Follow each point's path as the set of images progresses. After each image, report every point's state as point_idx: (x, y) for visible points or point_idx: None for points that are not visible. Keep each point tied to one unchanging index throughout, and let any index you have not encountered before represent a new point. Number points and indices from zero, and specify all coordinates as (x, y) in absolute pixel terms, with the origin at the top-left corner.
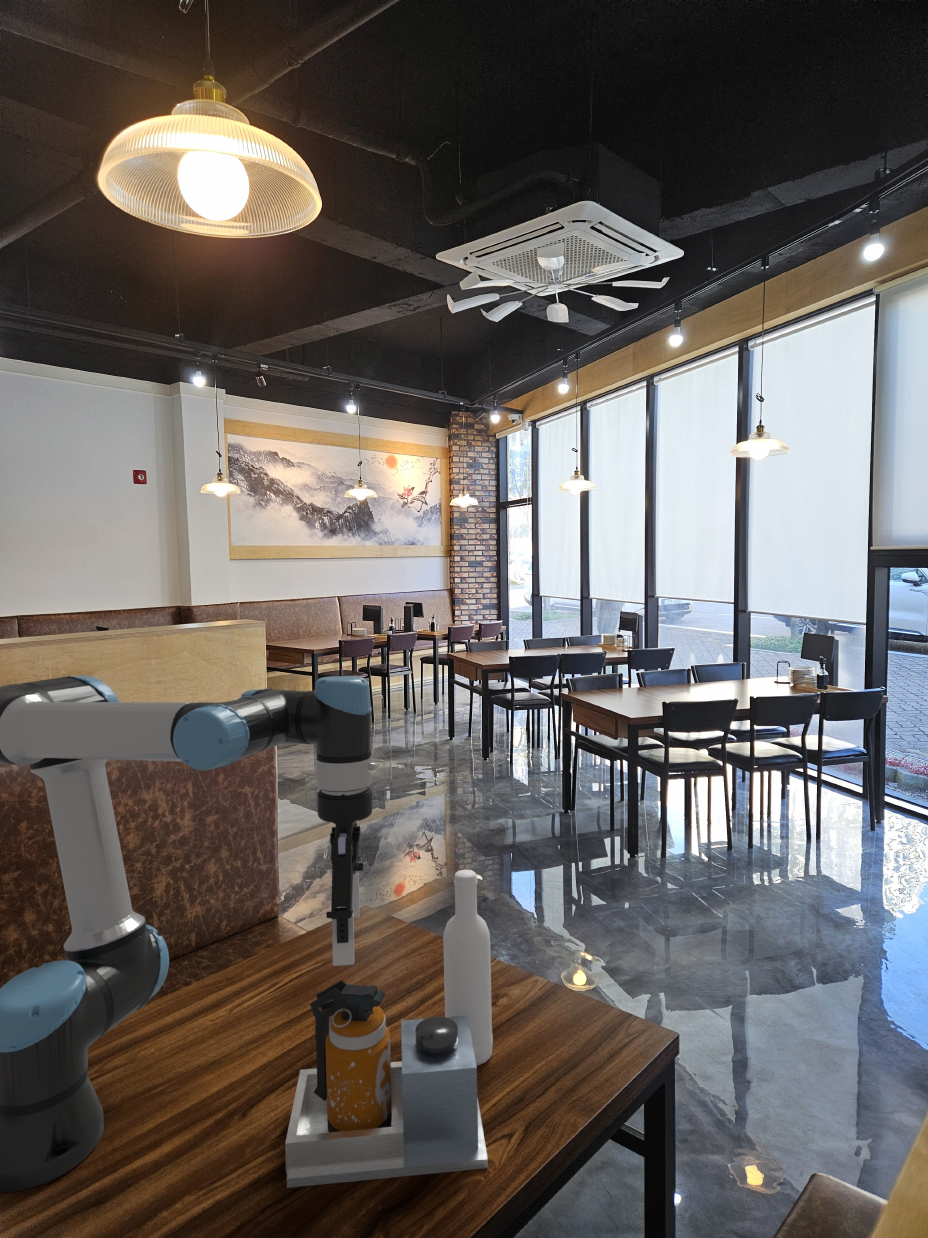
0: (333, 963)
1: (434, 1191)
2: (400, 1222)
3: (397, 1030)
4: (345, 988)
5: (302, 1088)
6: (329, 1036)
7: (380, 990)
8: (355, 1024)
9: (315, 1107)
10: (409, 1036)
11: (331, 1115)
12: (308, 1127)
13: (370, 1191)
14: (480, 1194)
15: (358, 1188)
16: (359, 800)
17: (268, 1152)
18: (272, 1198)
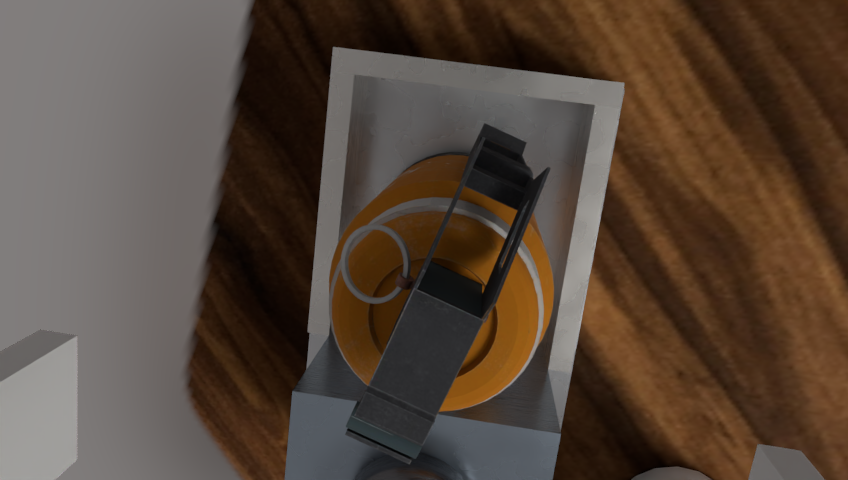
0: (29, 339)
1: (270, 350)
2: (214, 277)
3: (841, 367)
4: (445, 312)
5: (536, 90)
6: (428, 199)
7: (414, 451)
8: (363, 307)
9: (553, 122)
10: (464, 443)
11: (411, 167)
12: (485, 103)
13: (295, 230)
14: (247, 429)
15: (308, 207)
16: None
17: (458, 4)
18: (320, 22)
